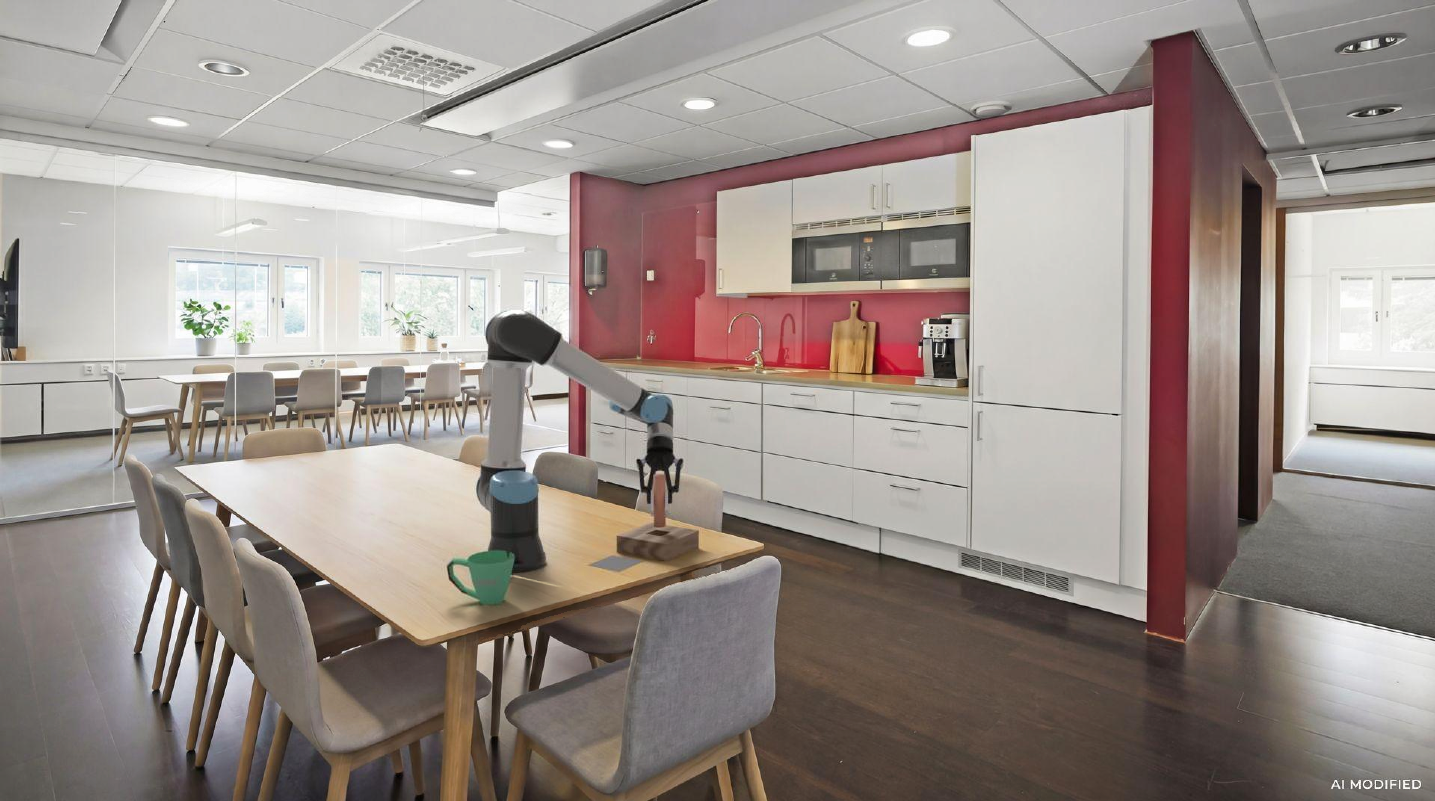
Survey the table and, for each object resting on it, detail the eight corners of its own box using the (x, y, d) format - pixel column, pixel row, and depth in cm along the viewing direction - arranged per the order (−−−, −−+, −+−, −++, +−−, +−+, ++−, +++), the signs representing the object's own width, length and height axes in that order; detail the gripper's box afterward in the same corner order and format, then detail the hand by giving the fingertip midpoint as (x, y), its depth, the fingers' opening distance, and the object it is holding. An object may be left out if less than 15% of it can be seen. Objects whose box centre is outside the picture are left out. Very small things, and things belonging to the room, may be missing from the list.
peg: (651, 526, 202) (651, 475, 200) (658, 523, 204) (658, 473, 203) (661, 528, 200) (660, 476, 199) (667, 525, 203) (667, 474, 201)
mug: (520, 593, 168) (519, 550, 167) (507, 609, 159) (506, 563, 158) (455, 593, 168) (454, 549, 168) (439, 608, 159) (438, 563, 158)
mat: (587, 566, 188) (587, 564, 188) (612, 556, 197) (612, 555, 197) (619, 573, 183) (619, 571, 183) (643, 563, 192) (643, 561, 192)
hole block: (616, 553, 200) (616, 535, 199) (651, 539, 214) (651, 522, 213) (665, 563, 192) (665, 544, 191) (698, 548, 205) (698, 530, 205)
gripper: (688, 449, 216) (689, 520, 201) (632, 450, 215) (629, 520, 200) (688, 434, 211) (690, 505, 196) (631, 434, 210) (628, 506, 195)
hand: (659, 513), depth 198 cm, fingers closed on peg, 3 cm apart
